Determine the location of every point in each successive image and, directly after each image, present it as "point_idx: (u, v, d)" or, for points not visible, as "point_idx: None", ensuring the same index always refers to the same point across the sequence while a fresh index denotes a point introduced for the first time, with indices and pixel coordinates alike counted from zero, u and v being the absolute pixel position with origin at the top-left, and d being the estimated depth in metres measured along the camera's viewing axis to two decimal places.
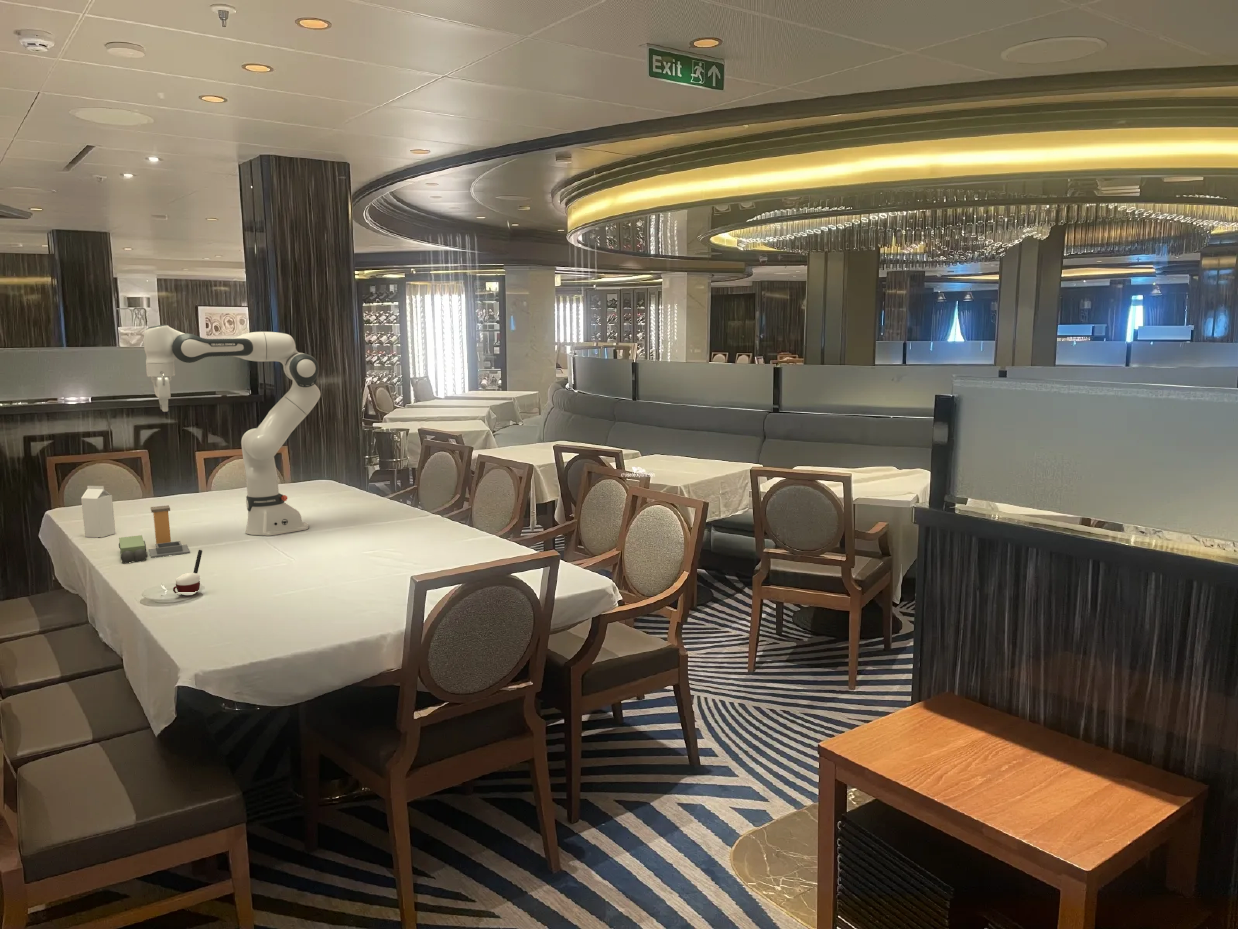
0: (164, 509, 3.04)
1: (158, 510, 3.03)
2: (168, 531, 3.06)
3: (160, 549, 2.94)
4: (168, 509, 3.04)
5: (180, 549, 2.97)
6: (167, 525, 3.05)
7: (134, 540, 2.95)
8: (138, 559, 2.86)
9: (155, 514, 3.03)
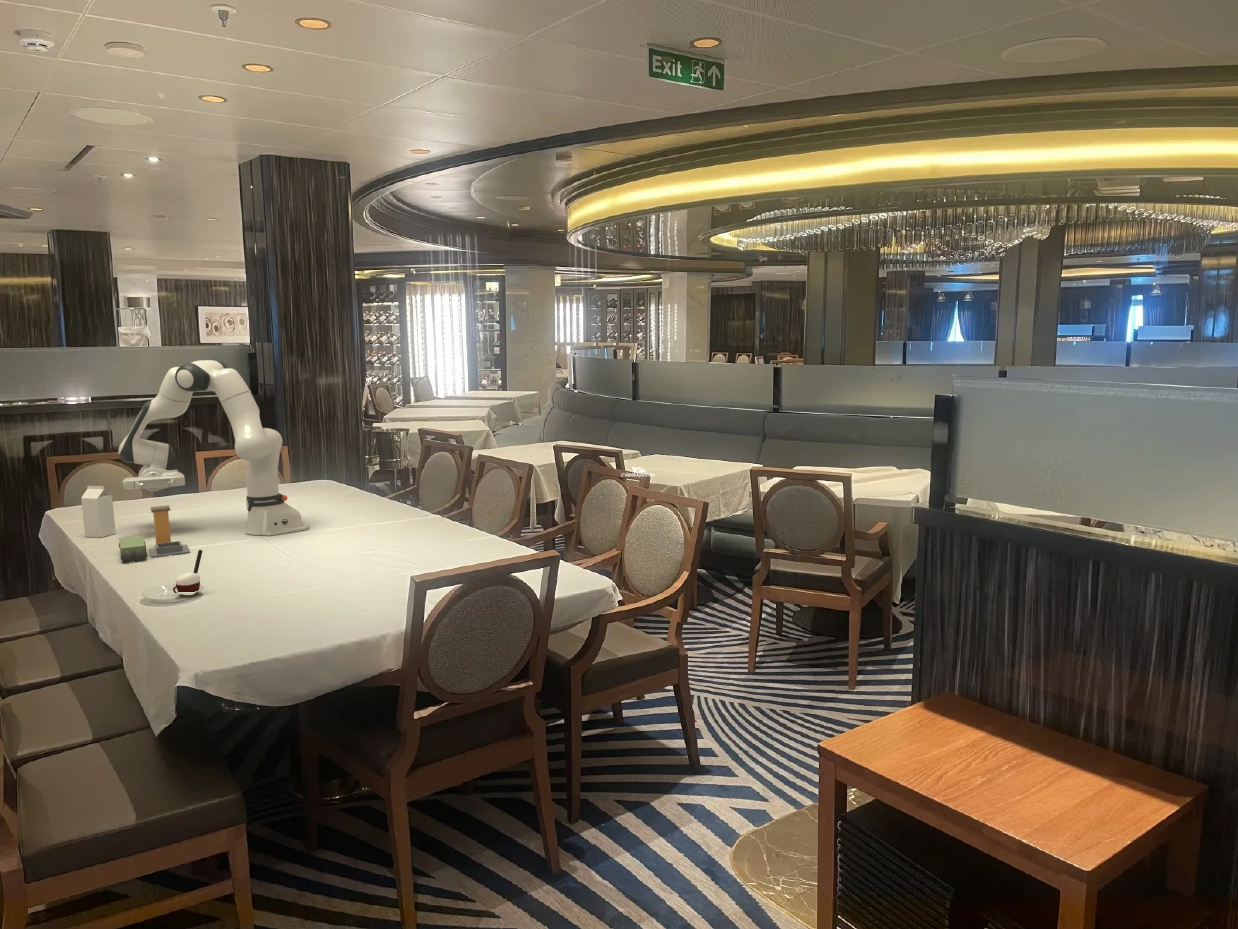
0: (164, 509, 3.04)
1: (158, 510, 3.03)
2: (168, 531, 3.06)
3: (160, 549, 2.94)
4: (168, 509, 3.04)
5: (180, 549, 2.97)
6: (167, 525, 3.05)
7: (134, 540, 2.95)
8: (138, 559, 2.86)
9: (155, 514, 3.03)
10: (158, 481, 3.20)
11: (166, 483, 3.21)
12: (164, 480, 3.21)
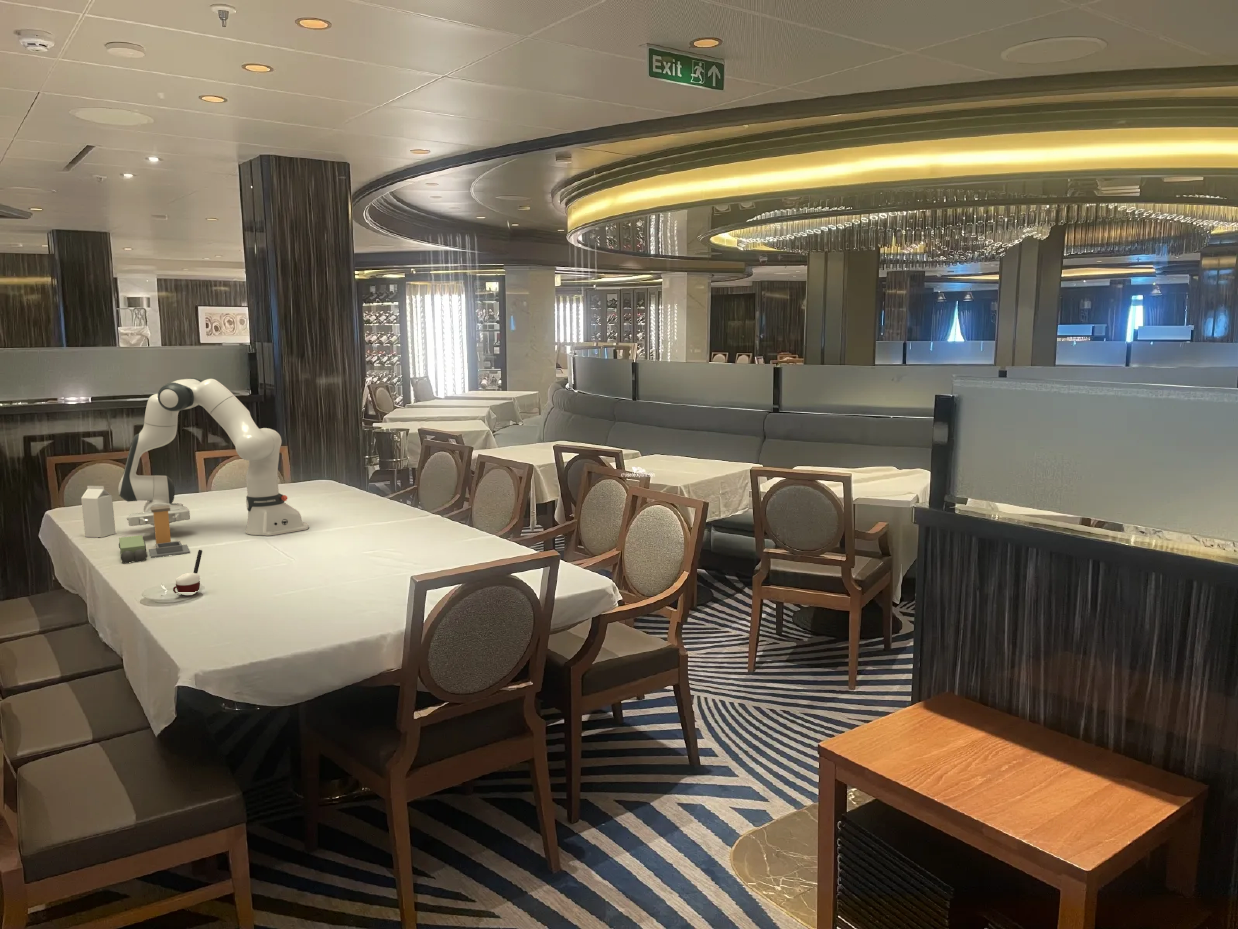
0: (164, 509, 3.04)
1: (158, 510, 3.03)
2: (168, 531, 3.06)
3: (160, 549, 2.94)
4: (168, 509, 3.04)
5: (180, 549, 2.97)
6: (167, 525, 3.05)
7: (134, 540, 2.95)
8: (138, 559, 2.86)
9: (155, 514, 3.03)
10: None
11: (171, 518, 3.19)
12: (169, 515, 3.18)
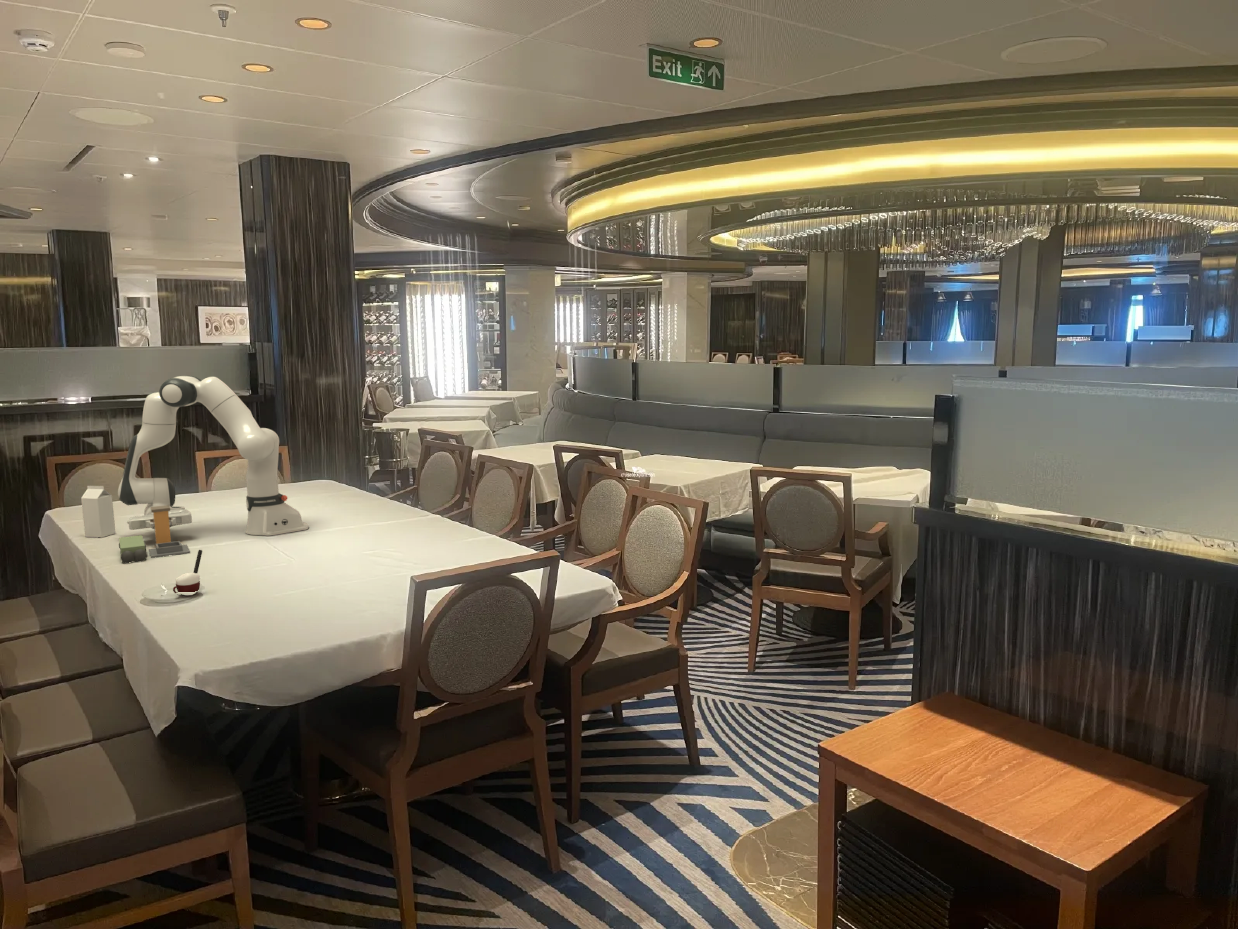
0: (164, 509, 3.04)
1: (158, 510, 3.03)
2: (168, 531, 3.06)
3: (160, 549, 2.94)
4: (168, 509, 3.04)
5: (180, 549, 2.97)
6: (167, 525, 3.05)
7: (134, 540, 2.95)
8: (138, 559, 2.86)
9: (155, 514, 3.03)
10: None
11: None
12: None
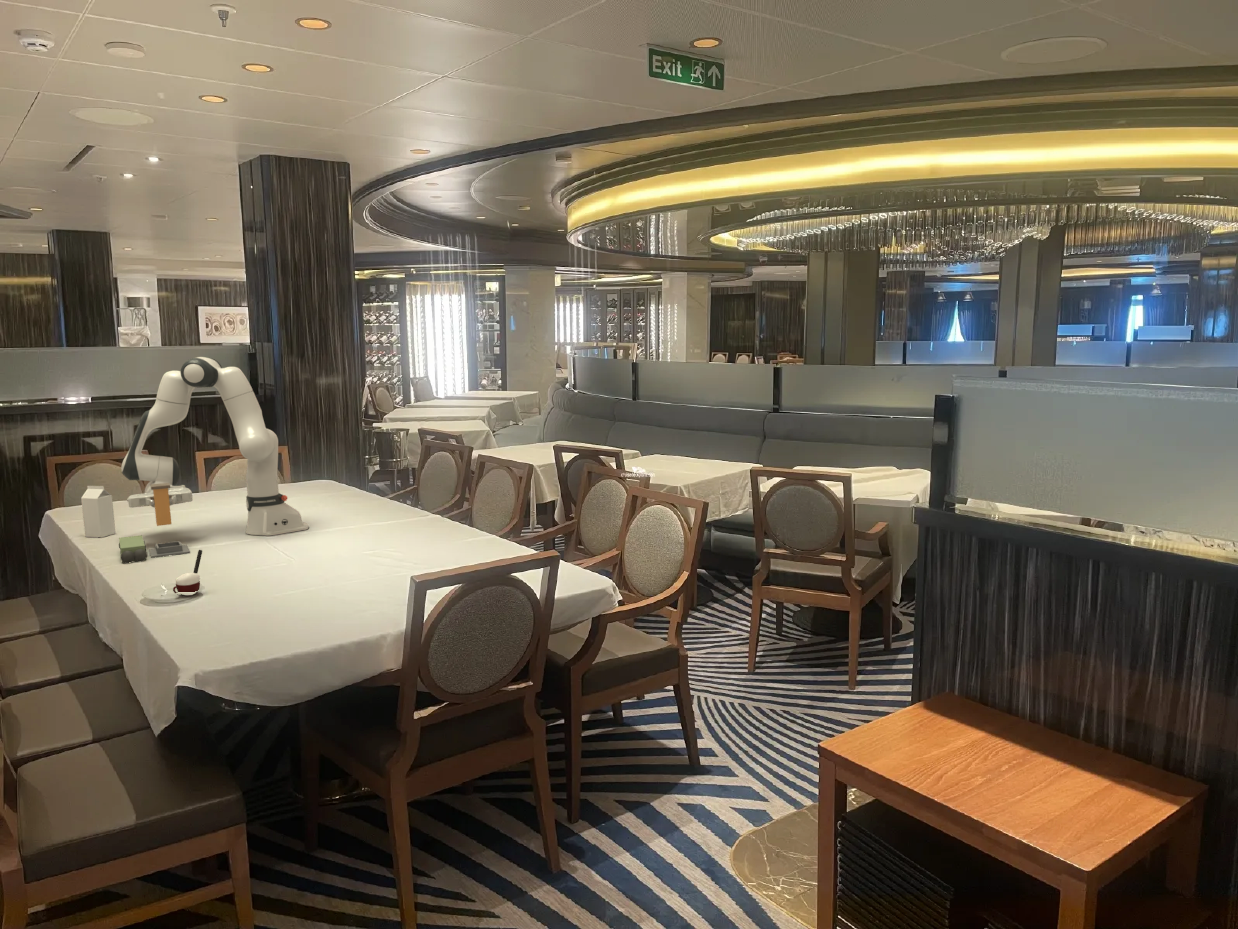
0: (164, 486, 2.99)
1: (158, 487, 2.98)
2: (168, 509, 3.01)
3: (160, 549, 2.94)
4: (168, 486, 3.00)
5: (180, 549, 2.97)
6: (167, 503, 3.01)
7: (134, 540, 2.95)
8: (138, 559, 2.86)
9: (155, 491, 2.98)
10: None
11: None
12: (171, 496, 3.07)
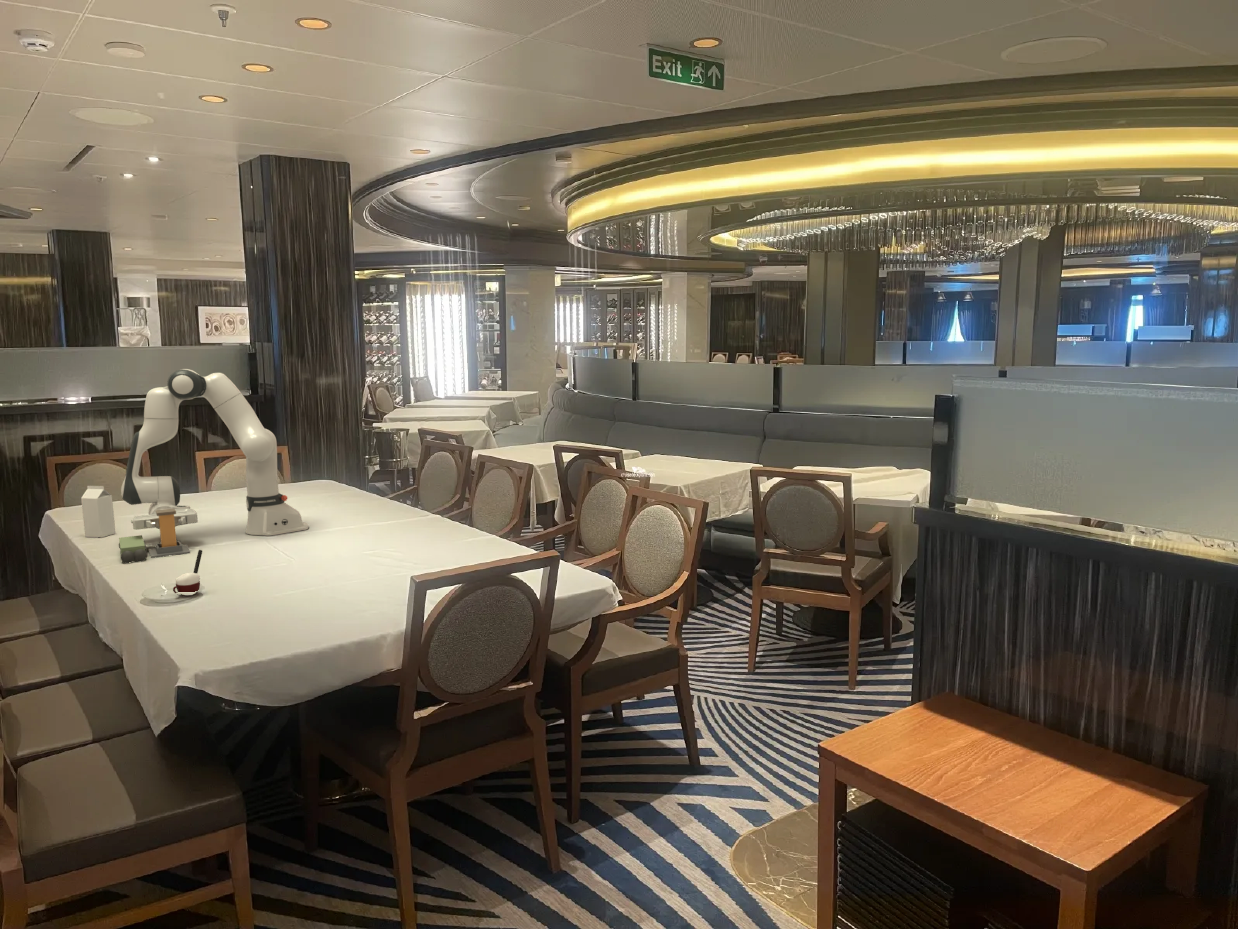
0: (170, 512, 2.95)
1: (164, 513, 2.94)
2: (174, 535, 2.97)
3: (160, 549, 2.94)
4: (174, 512, 2.95)
5: (180, 549, 2.97)
6: (173, 529, 2.97)
7: (134, 540, 2.95)
8: (138, 559, 2.86)
9: (160, 517, 2.94)
10: None
11: (178, 521, 3.03)
12: (175, 518, 3.03)
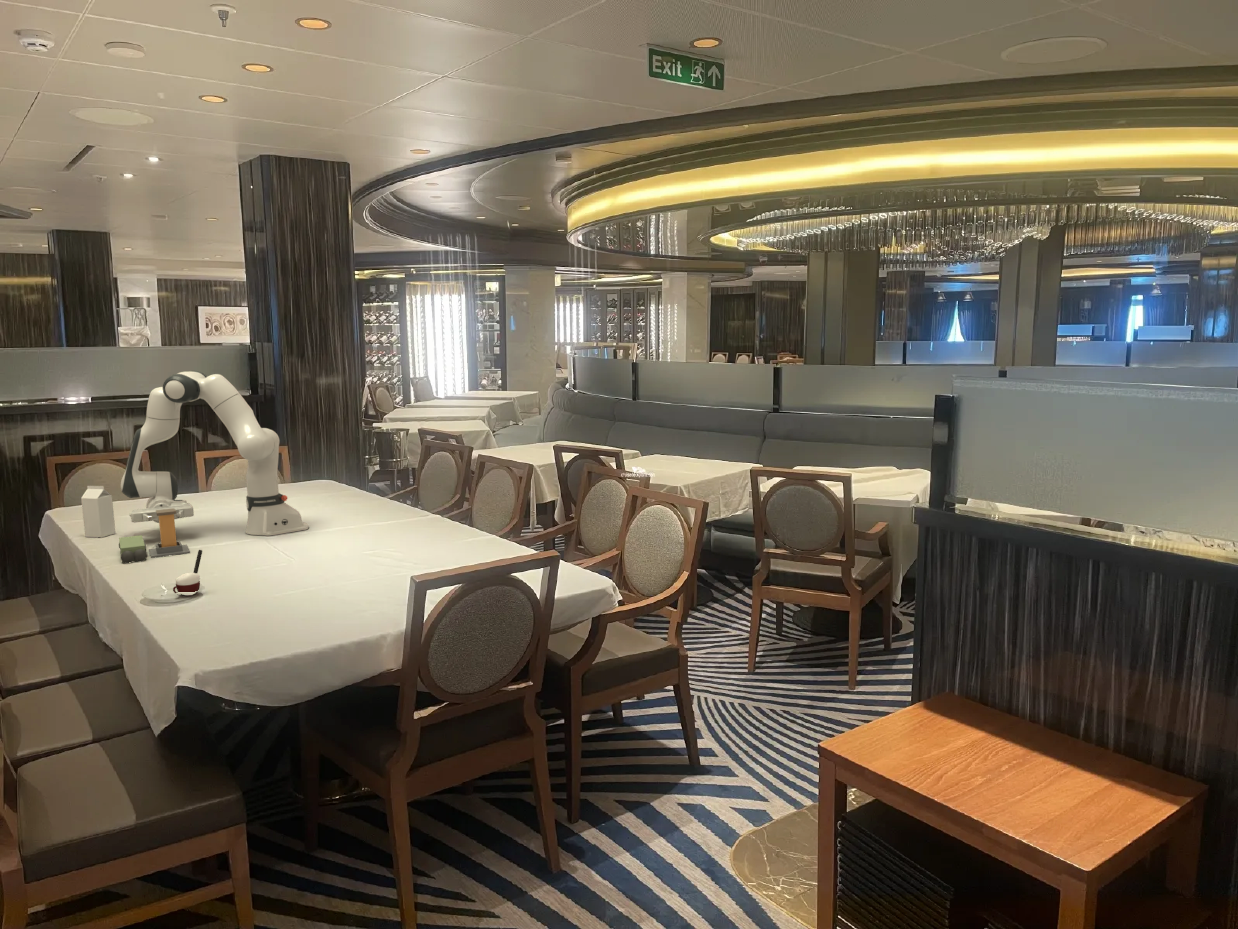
0: (170, 512, 2.95)
1: (164, 513, 2.94)
2: (174, 535, 2.97)
3: (160, 549, 2.94)
4: (174, 512, 2.95)
5: (180, 549, 2.97)
6: (173, 529, 2.97)
7: (134, 540, 2.95)
8: (138, 559, 2.86)
9: (160, 517, 2.94)
10: None
11: (174, 514, 3.14)
12: None
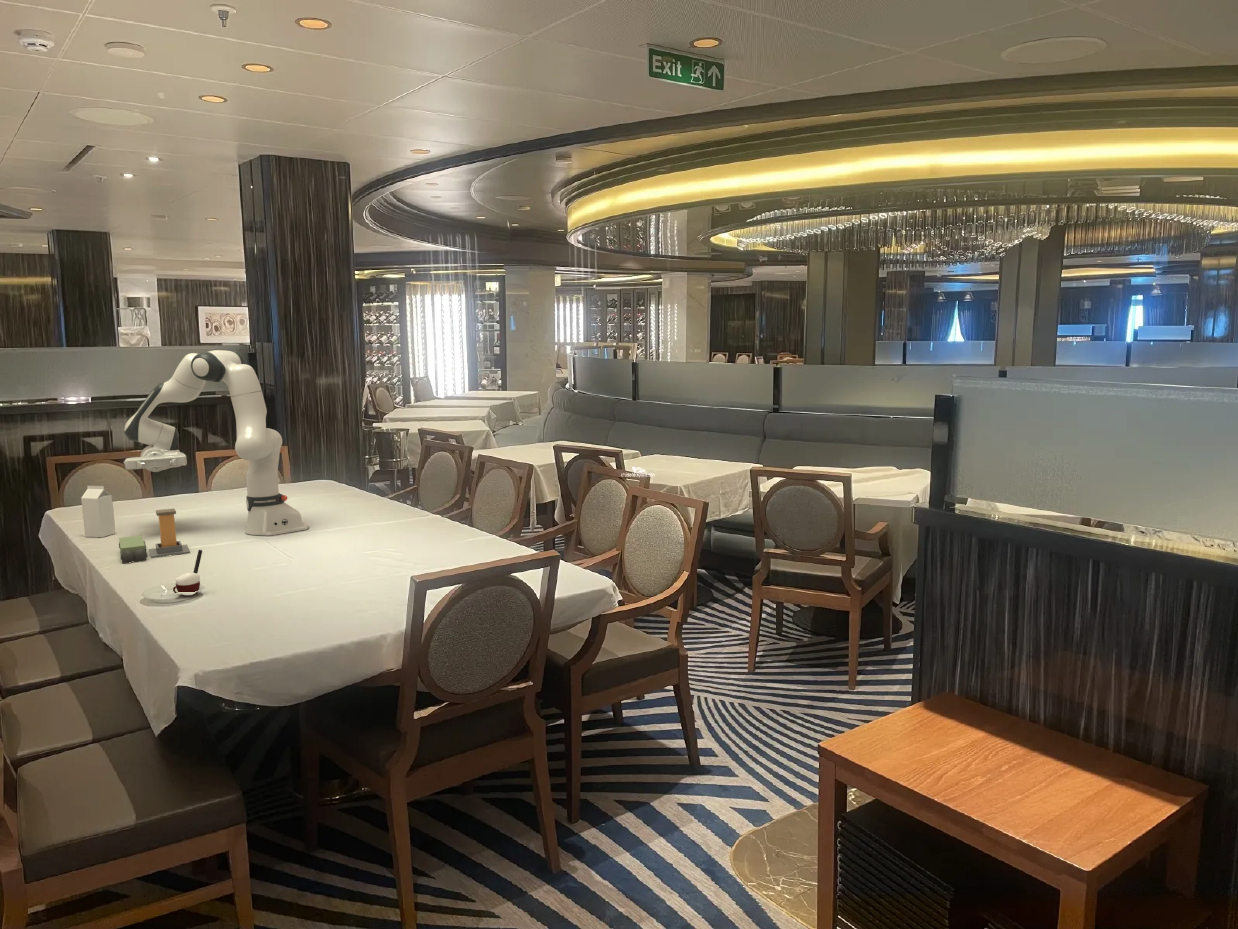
0: (170, 512, 2.95)
1: (164, 513, 2.94)
2: (174, 535, 2.97)
3: (160, 549, 2.94)
4: (174, 512, 2.95)
5: (180, 549, 2.97)
6: (173, 529, 2.97)
7: (134, 540, 2.95)
8: (138, 559, 2.86)
9: (160, 517, 2.94)
10: (160, 461, 3.18)
11: (168, 463, 3.20)
12: (166, 460, 3.19)
